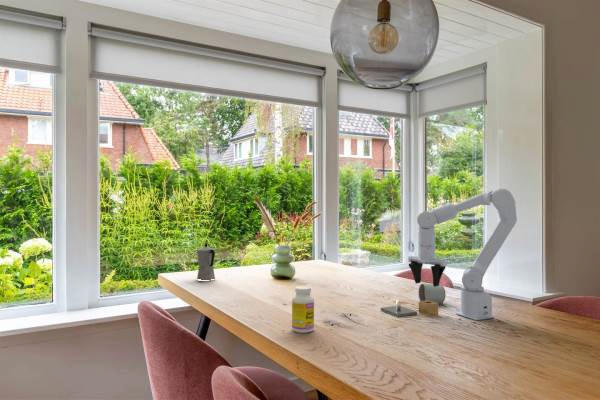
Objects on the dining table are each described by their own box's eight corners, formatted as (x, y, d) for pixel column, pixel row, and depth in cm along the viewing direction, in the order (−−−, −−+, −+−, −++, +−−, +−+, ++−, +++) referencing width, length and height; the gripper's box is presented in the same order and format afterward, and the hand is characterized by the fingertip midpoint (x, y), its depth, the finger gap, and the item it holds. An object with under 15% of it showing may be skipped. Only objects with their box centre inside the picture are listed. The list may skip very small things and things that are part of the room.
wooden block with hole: (438, 314, 153) (438, 303, 153) (427, 316, 151) (427, 304, 151) (429, 311, 157) (429, 300, 157) (418, 313, 155) (418, 301, 155)
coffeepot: (191, 279, 223) (191, 242, 223) (208, 277, 228) (208, 241, 228) (204, 283, 210) (204, 245, 210) (223, 281, 216) (222, 244, 216)
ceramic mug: (447, 305, 167) (446, 284, 167) (426, 306, 165) (425, 285, 166) (434, 299, 177) (434, 280, 177) (414, 300, 176) (414, 280, 176)
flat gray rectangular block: (417, 314, 153) (417, 302, 153) (398, 317, 150) (398, 305, 150) (399, 308, 162) (399, 297, 162) (380, 310, 159) (380, 299, 159)
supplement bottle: (306, 334, 130) (306, 290, 130) (287, 331, 134) (287, 288, 134) (318, 329, 136) (318, 286, 136) (299, 326, 140) (299, 284, 140)
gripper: (451, 246, 154) (451, 286, 154) (416, 243, 165) (417, 280, 165) (439, 248, 150) (439, 288, 150) (404, 244, 161) (404, 282, 161)
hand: (426, 284), depth 157 cm, fingers open, 7 cm apart
